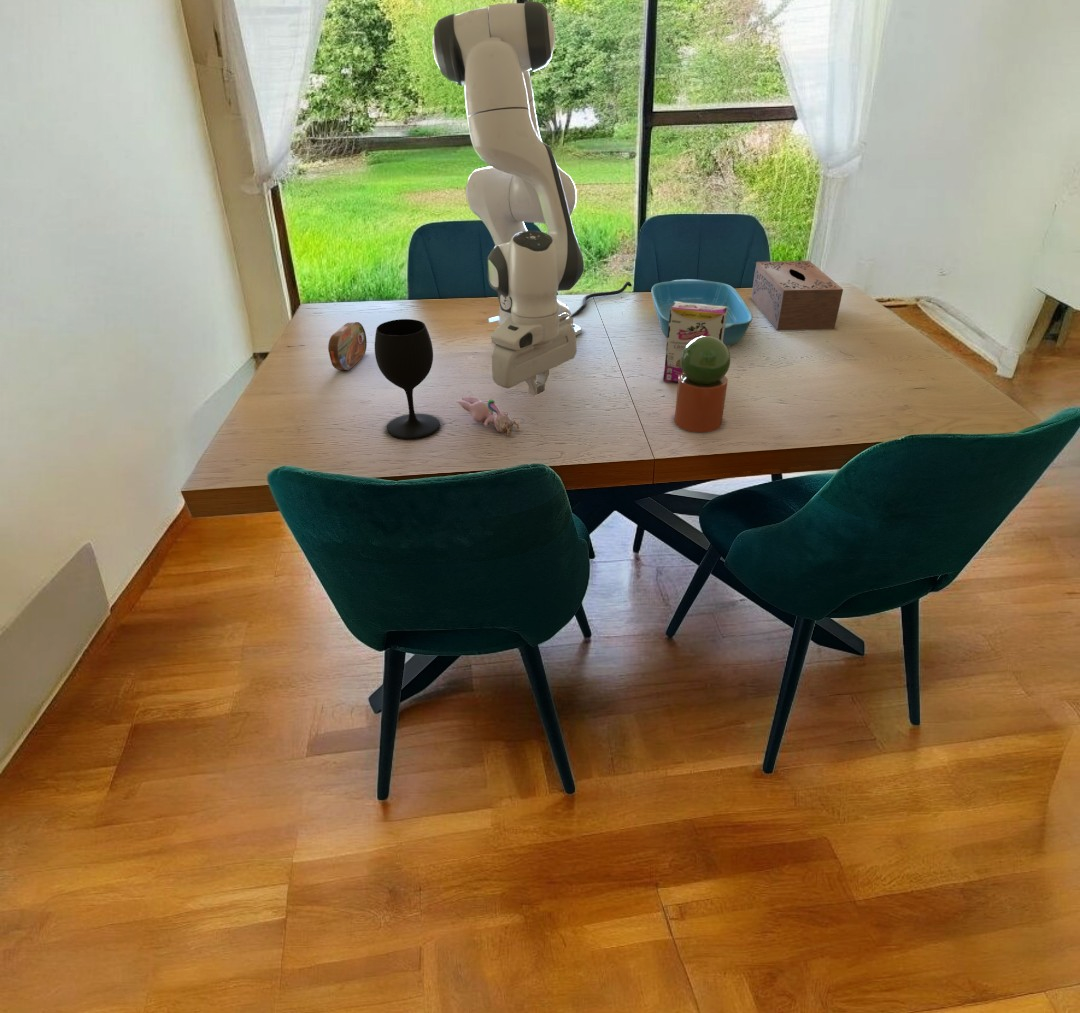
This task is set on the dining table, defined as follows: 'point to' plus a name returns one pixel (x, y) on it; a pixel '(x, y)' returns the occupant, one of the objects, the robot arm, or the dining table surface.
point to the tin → (347, 346)
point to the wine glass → (406, 371)
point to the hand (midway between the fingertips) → (537, 392)
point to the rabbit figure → (487, 413)
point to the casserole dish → (703, 294)
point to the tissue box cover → (796, 295)
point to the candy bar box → (690, 331)
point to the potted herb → (702, 385)
